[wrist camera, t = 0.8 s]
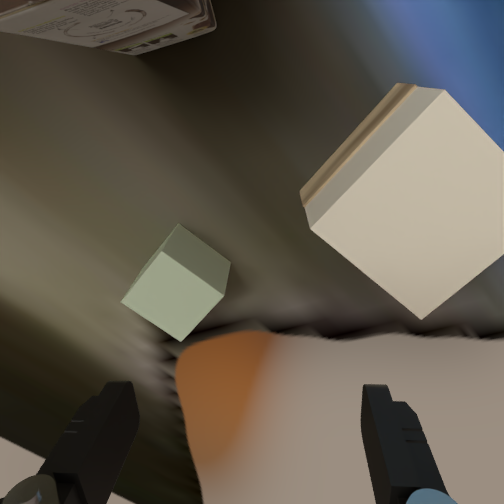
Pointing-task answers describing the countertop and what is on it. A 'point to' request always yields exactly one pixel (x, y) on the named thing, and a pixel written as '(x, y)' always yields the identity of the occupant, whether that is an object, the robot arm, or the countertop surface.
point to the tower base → (356, 140)
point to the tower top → (418, 202)
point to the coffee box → (109, 22)
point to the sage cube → (179, 283)
